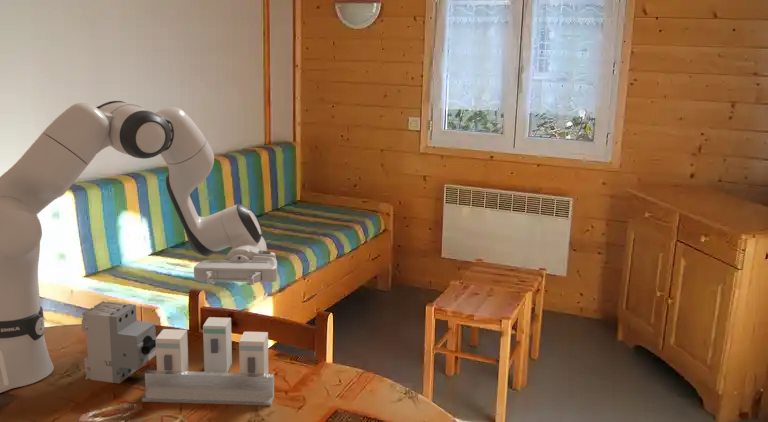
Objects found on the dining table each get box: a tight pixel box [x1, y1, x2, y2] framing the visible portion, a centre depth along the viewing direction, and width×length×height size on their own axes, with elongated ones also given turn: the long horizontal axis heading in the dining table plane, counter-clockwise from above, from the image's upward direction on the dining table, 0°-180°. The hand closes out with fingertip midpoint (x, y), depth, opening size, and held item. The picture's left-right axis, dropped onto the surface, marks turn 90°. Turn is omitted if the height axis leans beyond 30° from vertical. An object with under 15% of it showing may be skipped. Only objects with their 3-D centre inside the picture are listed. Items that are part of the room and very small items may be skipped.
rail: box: [141, 369, 275, 406], centre depth 143 cm, size 26×4×5 cm, turn 89°
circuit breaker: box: [81, 300, 157, 384], centre depth 151 cm, size 8×14×15 cm, turn 78°
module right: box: [238, 331, 269, 374], centre depth 146 cm, size 5×6×12 cm
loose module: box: [202, 316, 233, 373], centre depth 156 cm, size 5×6×11 cm
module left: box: [155, 328, 190, 371], centre depth 146 cm, size 5×6×12 cm
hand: (230, 281), depth 166 cm, fingers open, 8 cm apart
